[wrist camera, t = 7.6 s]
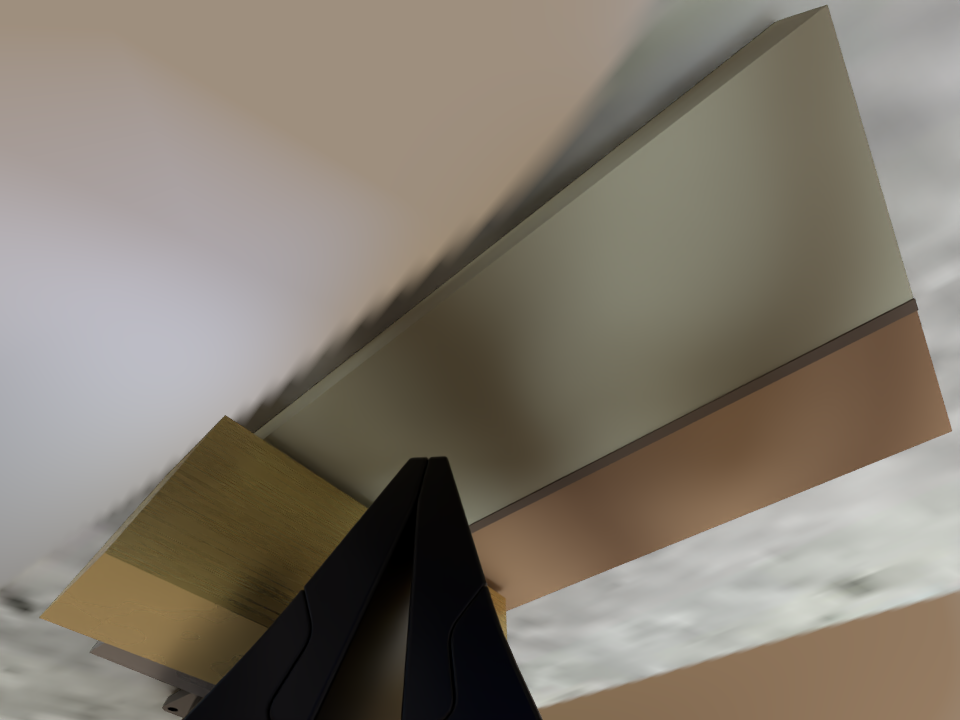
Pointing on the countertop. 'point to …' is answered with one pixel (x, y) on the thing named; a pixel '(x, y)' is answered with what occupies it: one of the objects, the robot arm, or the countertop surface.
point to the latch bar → (212, 556)
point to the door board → (654, 336)
